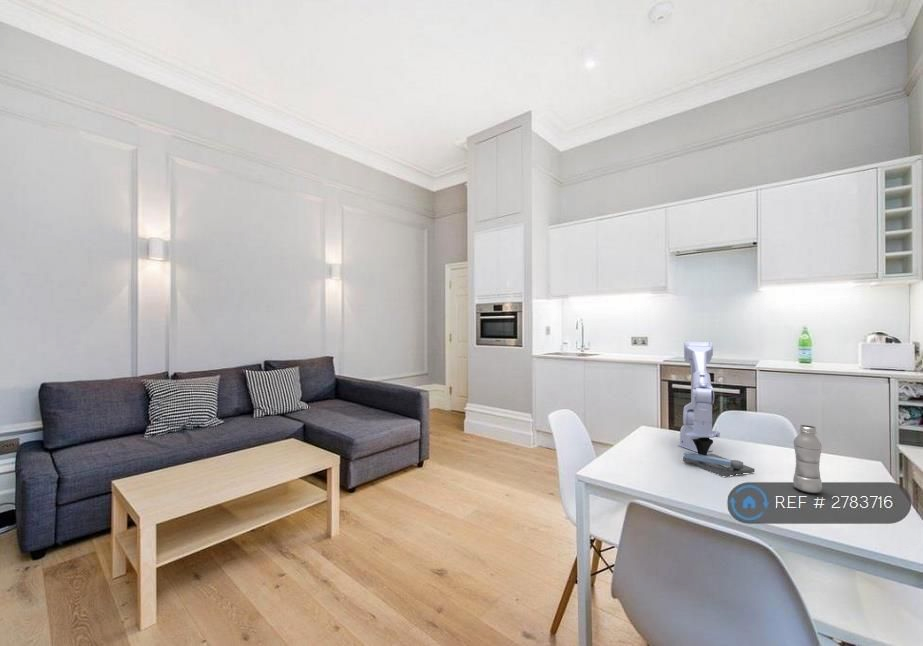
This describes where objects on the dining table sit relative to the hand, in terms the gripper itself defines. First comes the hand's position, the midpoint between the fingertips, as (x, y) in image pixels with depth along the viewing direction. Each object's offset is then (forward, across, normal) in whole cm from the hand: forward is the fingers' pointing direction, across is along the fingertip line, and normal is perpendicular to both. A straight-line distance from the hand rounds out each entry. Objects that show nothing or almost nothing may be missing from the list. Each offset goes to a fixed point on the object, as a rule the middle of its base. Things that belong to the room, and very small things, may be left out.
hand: (702, 458), depth 138 cm
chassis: (+2, +4, -3) cm, 5 cm away
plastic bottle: (+3, +12, -26) cm, 29 cm away
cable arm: (0, 0, -4) cm, 4 cm away
